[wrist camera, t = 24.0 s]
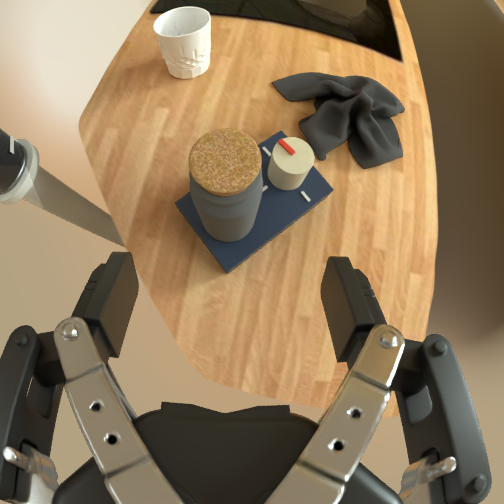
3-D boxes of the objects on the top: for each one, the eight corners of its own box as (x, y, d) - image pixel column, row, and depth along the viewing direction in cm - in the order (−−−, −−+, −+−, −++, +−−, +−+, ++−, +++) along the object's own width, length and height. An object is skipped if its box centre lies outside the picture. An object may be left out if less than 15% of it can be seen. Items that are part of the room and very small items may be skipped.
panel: (227, 274, 35) (226, 272, 32) (179, 209, 36) (174, 202, 33) (330, 194, 37) (338, 185, 34) (282, 138, 38) (286, 126, 35)
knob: (311, 175, 34) (323, 156, 29) (285, 197, 34) (294, 181, 28) (285, 150, 35) (293, 128, 29) (259, 171, 34) (264, 151, 29)
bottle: (240, 184, 34) (244, 109, 19) (263, 228, 33) (286, 177, 18) (194, 206, 33) (166, 142, 18) (216, 252, 32) (202, 217, 18)
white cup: (218, 75, 39) (216, 28, 29) (168, 88, 38) (155, 43, 28) (207, 45, 40) (204, 2, 30) (162, 57, 39) (150, 14, 29)
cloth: (399, 89, 41) (414, 69, 35) (411, 182, 39) (434, 166, 32) (275, 58, 40) (280, 32, 34) (264, 152, 38) (270, 128, 32)
